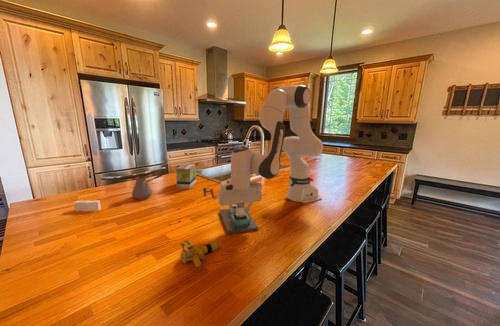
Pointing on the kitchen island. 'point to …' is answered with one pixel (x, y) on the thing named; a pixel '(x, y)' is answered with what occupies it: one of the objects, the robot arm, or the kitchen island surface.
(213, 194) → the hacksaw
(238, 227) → the manifold plate
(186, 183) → the tea box
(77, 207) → the white rectangular block
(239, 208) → the fitting
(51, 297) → the kitchen island surface
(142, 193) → the coffee pot
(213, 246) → the sprinkler
